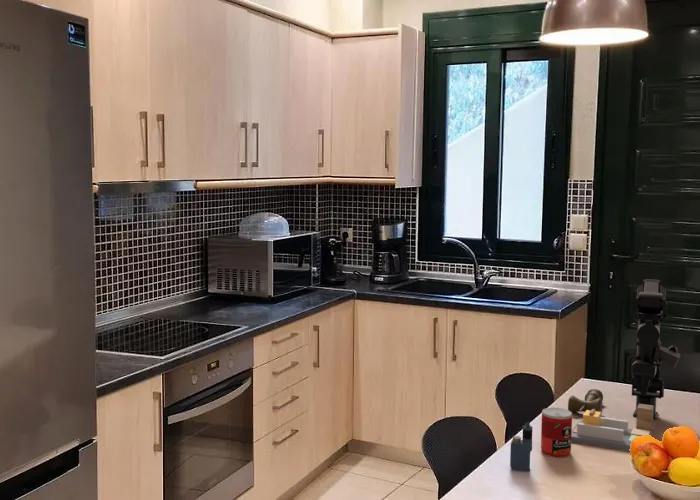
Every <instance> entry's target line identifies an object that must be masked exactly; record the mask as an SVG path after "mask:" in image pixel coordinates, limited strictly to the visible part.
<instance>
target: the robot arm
mask: <svg viewBox="0 0 700 500" xmlns="http://www.w3.org/2000/svg"><path fill="white" fill-rule="evenodd" d="M636 291H637V292H636V297H635V308H634V309H635V310H634V320H638V325H637V326H638V327H637V333H636V336H637V340H636V343H635V344H636V346H637V347H636V350H637V351H636V355H635V361H634V362H633V363H632V364H631V369H630V371H631V374H632V377H631V378H632V379H631V396H632V397H634V396H635V397H636V398H635V400H636V401H635V410H634V412H633V414H632V416H633V417H636V418H637V407H638V405H639V404H645V405H652V406H654V412H653V420H657V417H658V415H659V411H657V399H662V398H664V396H665V382H664V381H663V378H661V372H660V369H659V367H661V365H662V363H664V364H666V365H668V366H669V367H671V368H676V366H677V364H678V362H679V360H680V358H681V353H679V352H678V347H676V346H675V345H671V346H669V347H664V346H662V342H661V340H660V336H661V334H660V333H661V332H660V331H661V329H660V328H661V322H664V321H665V319H666V318H667V309H668V302H667V301H666V298H667V297H666V296H667V295H666V294H667V289H666V288H665V287H664V286H663V285H662V284H661V280H659V279H643V280H642V283H641V285H639V286H638V287H637V289H636Z"/></svg>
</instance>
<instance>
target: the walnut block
mask: <svg viewBox="0 0 700 500" xmlns="http://www.w3.org/2000/svg"><path fill="white" fill-rule="evenodd" d="M653 412H654V406H652V405H645V404H639V405H638V407H637V417H636V423H635V425H636V427H635V429H640V430H647V431H650V432H651V433H653V430H654V429H653V428H654V419H653Z"/></svg>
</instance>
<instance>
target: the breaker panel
mask: <svg viewBox="0 0 700 500" xmlns="http://www.w3.org/2000/svg"><path fill="white" fill-rule="evenodd" d="M642 435H651V436H652V432H650V431H647V430H640V429H636V428H629V420H624V419H618V418H611V417H605V416H601V426H597V425H590V424H583V421H580V420H578V421H577V423H576V424H575V425H574V426H573V427H572V434H571V443H577V444H582V445H589V446H595V447H601V448H606V449H607V448H609V449H614V450H620V451H626V452H627V451H628V452H630V451H629V449H630V444H631V441H632V440H633V439H634V438H635V437H637V436H642Z"/></svg>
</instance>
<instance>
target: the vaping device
mask: <svg viewBox="0 0 700 500" xmlns="http://www.w3.org/2000/svg"><path fill="white" fill-rule="evenodd" d="M532 451H533V426H532V425H531V423H530V422H525V425H522V437H521V436H518V435H514V436H512V440H511V442H510V453H509V454H510V455H509V456H510V457H509V458H510V459H509V466H510V469H511V471H513V472H515V471H516V472H517V471H518V472H530V471H531V469H530V468H531V452H532Z"/></svg>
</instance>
